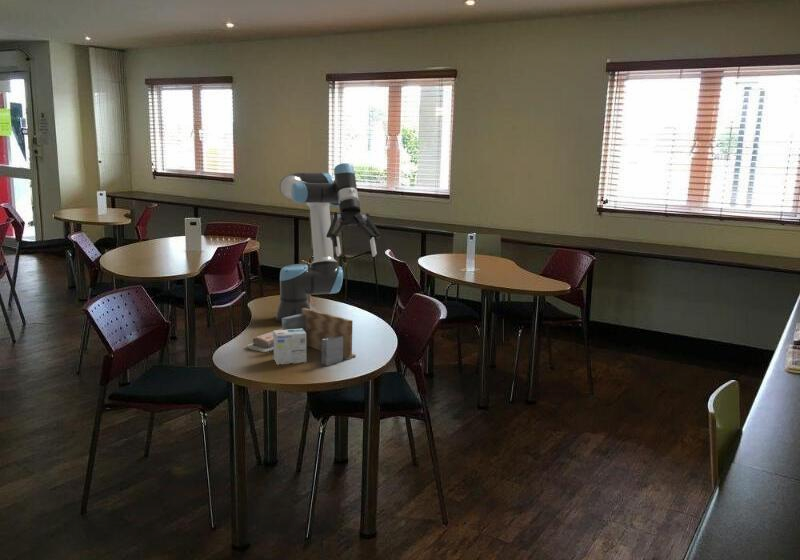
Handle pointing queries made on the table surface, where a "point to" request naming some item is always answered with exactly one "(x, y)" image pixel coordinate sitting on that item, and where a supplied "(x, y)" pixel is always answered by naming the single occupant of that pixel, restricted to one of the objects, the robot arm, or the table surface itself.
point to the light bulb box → (289, 346)
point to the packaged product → (263, 342)
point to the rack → (321, 329)
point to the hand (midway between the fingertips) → (357, 255)
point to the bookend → (332, 350)
